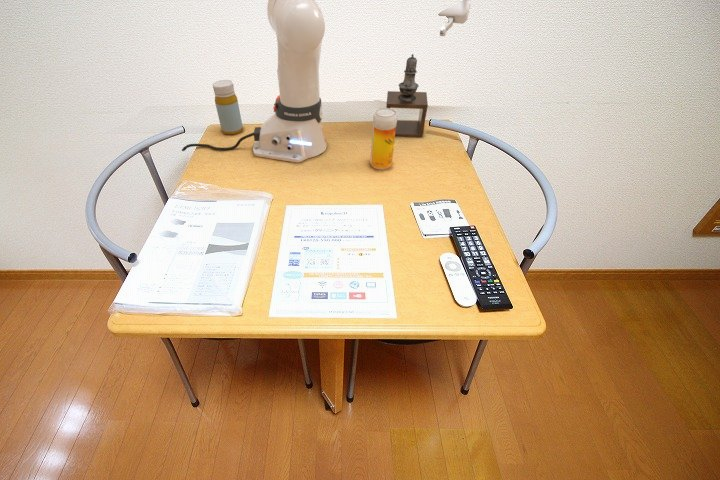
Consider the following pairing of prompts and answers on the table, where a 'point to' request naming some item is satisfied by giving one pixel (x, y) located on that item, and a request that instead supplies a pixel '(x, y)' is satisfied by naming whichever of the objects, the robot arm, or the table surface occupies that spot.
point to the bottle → (227, 107)
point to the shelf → (419, 103)
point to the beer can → (383, 138)
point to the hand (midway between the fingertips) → (426, 33)
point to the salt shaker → (409, 81)
